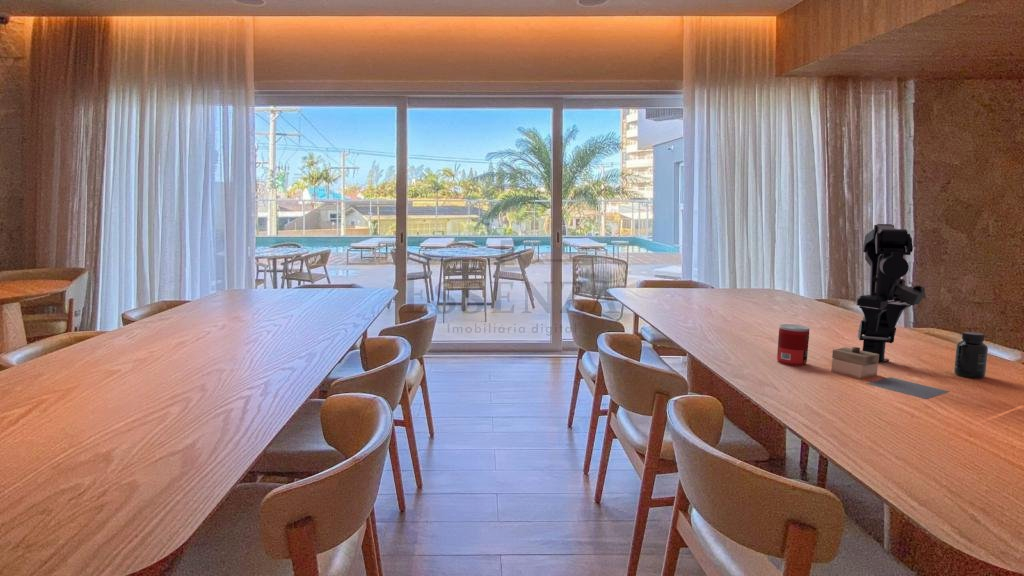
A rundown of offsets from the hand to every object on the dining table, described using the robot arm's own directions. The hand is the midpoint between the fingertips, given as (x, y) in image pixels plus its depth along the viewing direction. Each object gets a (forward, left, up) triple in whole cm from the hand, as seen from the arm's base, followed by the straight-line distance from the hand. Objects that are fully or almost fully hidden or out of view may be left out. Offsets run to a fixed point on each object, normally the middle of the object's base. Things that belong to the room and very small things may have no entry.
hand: (883, 330), depth 161 cm
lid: (+9, -2, -8) cm, 12 cm away
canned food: (+13, -18, -12) cm, 25 cm away
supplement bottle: (-19, +14, -12) cm, 27 cm away
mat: (+10, +12, -12) cm, 20 cm away
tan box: (+9, -2, -12) cm, 15 cm away
